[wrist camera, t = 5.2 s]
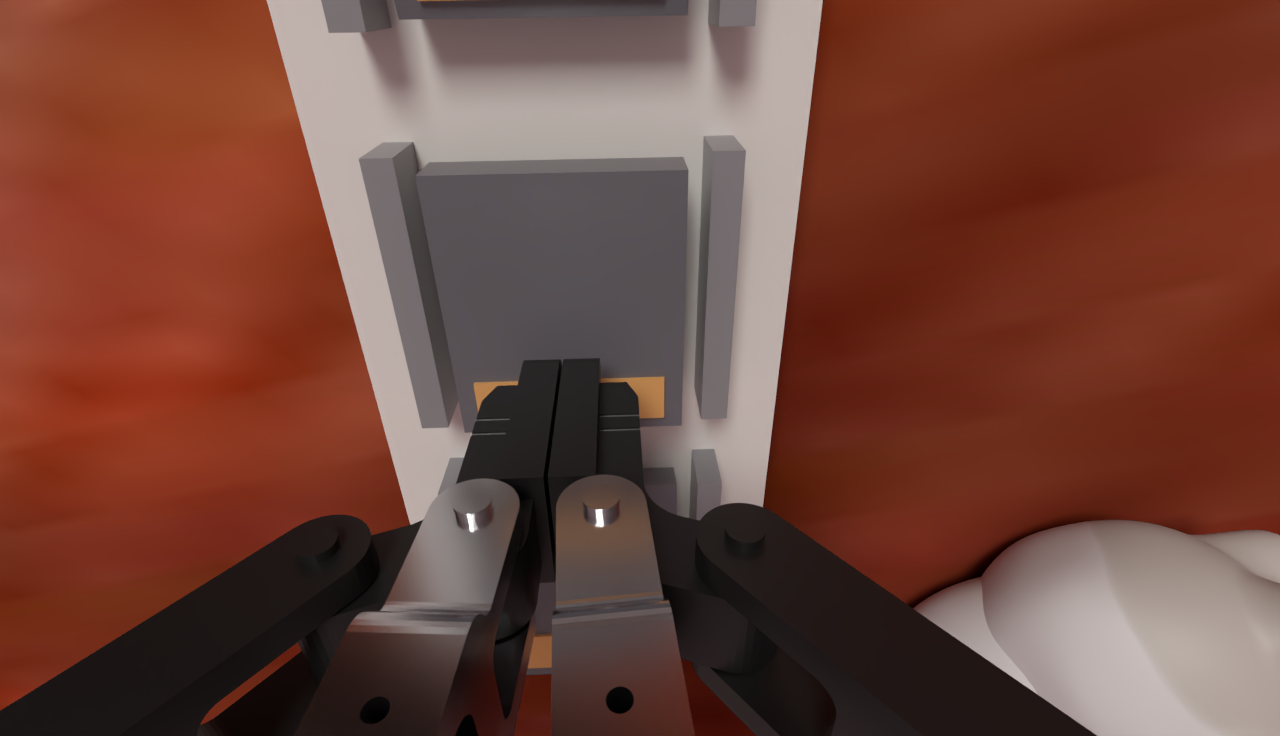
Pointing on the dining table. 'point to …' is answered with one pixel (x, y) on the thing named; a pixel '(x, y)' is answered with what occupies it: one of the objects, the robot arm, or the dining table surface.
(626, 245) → the plate
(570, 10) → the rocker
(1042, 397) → the dining table surface
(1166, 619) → the cat figurine
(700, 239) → the rocker switch panel
